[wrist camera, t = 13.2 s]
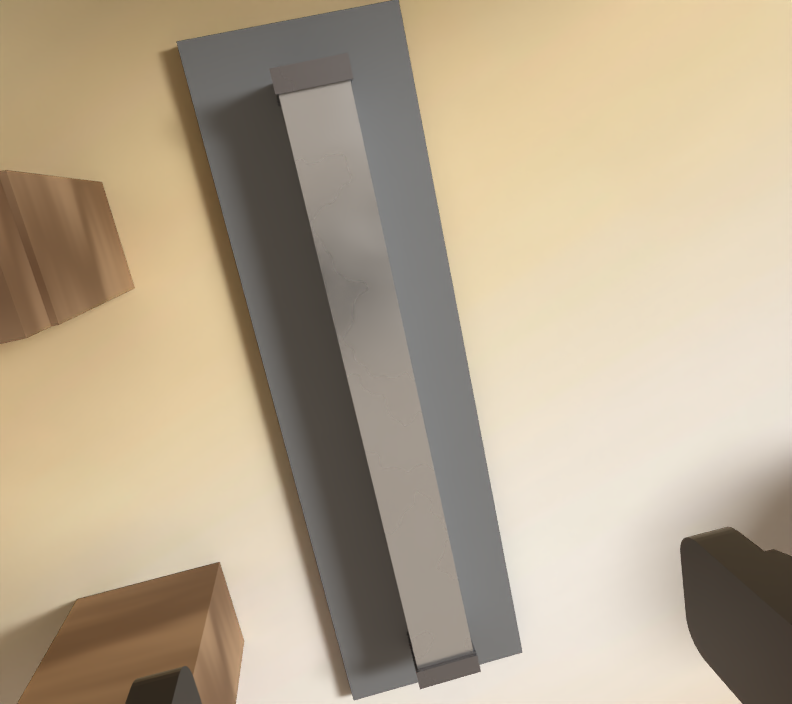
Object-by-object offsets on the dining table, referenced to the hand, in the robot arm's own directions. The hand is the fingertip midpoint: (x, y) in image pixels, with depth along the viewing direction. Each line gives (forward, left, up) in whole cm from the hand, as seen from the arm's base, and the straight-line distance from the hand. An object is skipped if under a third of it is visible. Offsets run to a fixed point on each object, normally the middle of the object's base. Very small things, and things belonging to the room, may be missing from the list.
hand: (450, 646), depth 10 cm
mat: (+1, 0, -17) cm, 17 cm away
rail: (+1, +1, -17) cm, 17 cm away
